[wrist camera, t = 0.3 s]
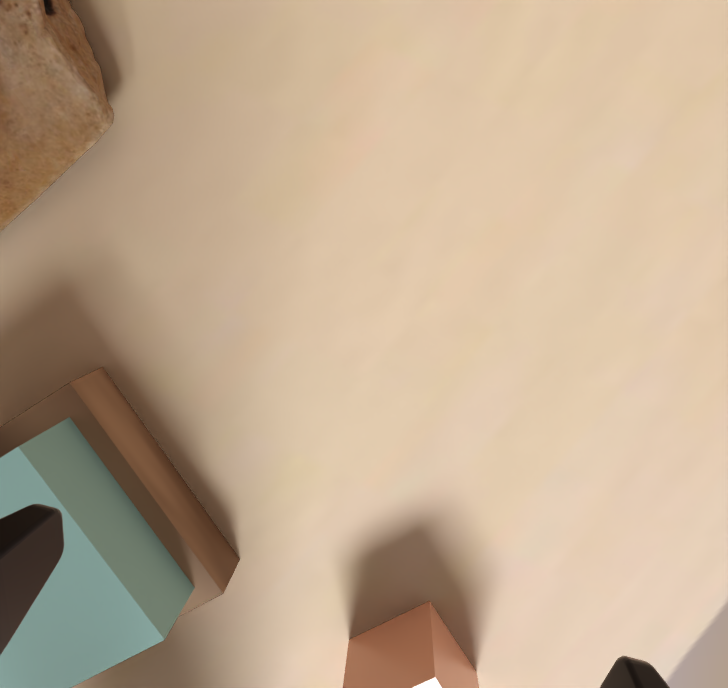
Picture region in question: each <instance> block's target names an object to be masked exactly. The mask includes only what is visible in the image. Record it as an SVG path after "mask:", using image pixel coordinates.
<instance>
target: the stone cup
mask: <svg viewBox="0 0 728 688" xmlns="http://www.w3.org/2000/svg"><path fill="white" fill-rule="evenodd" d="M113 119H114V113H113V109H112V107H111V105H109V104H108V101H107V98H106V94H105V90H104V84H103V79H102V74H101V69H100V66H99V65H98V64H97V62H96V61H95V59H94V55H93V51H92V48H91V47H90V45H89V43H88V41H87V39H86V37H85V31H84V27H83V25H82V23H81V21H80V18H79V17H78V15H77V14H76V13H75V12H74V11H73V9H72V8H71V5H70V3H69V0H0V232H1V231H2V230H3V229H4V228H5V227H6V226H7V225H8V224H9V223H10V222H11V221H12V220H14V219H15V218H16V217H17V216H18V215H19V214H20V213H21V212H22V211H24V210H25V209H26V208H27V207H28V206H29V205H30V204H31V203H33V202H34V201H35V200H36V199H37V198H38V197H39V196H40V195H41V194H42V193H43V192H44V191H45V190H46V189H47V188H48V187H49V186H51V185H52V184H53V183H54V182H55V181H56V180H57V179H58V178H59V177H60V176H61V175H62V174H63V173H64V172H65V171H66V170H67V169H68V168H69V167H70V166H71V165H72V164H74V163H75V162H76V161H77V160H78V159H79V158H80V157H81V156H82V155H83V154H84V153H85V152H86V151H88V150H89V149H90V148H91V147H92V146H93V145H94V144H95V143H96V142H97V141H98V140H99V139H100V138H101V136H102V135H103V134H104V133H105V132H106V130H107V129H108V128H109V127H110V126H111V124H112V123H113Z"/></svg>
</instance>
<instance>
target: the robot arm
mask: <svg viewBox="0 0 728 688" xmlns="http://www.w3.org/2000/svg"><path fill="white" fill-rule="evenodd" d="M63 550H64V533H63V519H62V513H61V511H60V510H59V509H57V508H54V507H50V506H46V505H42V504H32V505H29V506H27V507H25V508H22V509H20V510H18V511H16V512H14V513H12V514H9V515H7V516H5V517H3V518H1V519H0V655H1V654H2V652H3V651H4V649H5V648H6V646H7V645H8V643H9V642H10V640H11V638H12V637H13V635H14V634H15V632H16V630H17V629H18V627H19V626H20V624H21V622H22V621H23V619H24V617H25V616H26V614H27V613H28V611H29V609H30V608H31V606H32V604H33V603H34V601H35V600H36V598H37V596H38V595H39V593H40V591H41V590H42V588H43V587H44V585H45V583H46V582H47V580H48V578H49V577H50V575H51V574H52V572H53V570H54V569H55V567H56V566H57V564H58V562H59V560H60V558H61V556H62V554H63ZM600 688H670V687H669V686H668V685H667V683H666V682H665V681H664V680H663V678H662V677H661V676H660V675H659V673H658V672H657V671H656V670H655V668H654V667H653V666H652V665H650V664H649V663H648V662H645V661H642V660H639V659H635V658H631V657H627V656H622V657H620V658H618V659H617V660H616V662H615V664H614V665H613V667H612V668H611V670H610V672H609V673H608V675H607V677H606V678H605V680H604V681H603V683H602V685H601V687H600Z"/></svg>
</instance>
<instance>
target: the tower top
mask: <svg viewBox="0 0 728 688" xmlns="http://www.w3.org/2000/svg"><path fill="white" fill-rule="evenodd" d="M32 504H42V505H46V506H50V507H54V508H57V509H59V510H60V511H61V513H62V519H63V533H64V550H63V554H62V556H61V558H60V560H59V562H58V564H57V566H56V567H55V569H54V570H53V572H52V574H51V575H50V577H49V578H48V580H47V582H46V583H45V585H44V587H43V588H42V590H41V591H40V593H39V595H38V596H37V598H36V600H35V601H34V603H33V604H32V606H31V608H30V609H29V611H28V613H27V614H26V616H25V617H24V619H23V621H22V622H21V624H20V626H19V627H18V629H17V630H16V632H15V634H14V635H13V637H12V638H11V640H10V642H9V643H8V645H7V646H6V648H5V649H4V651H3V652H2V654H1V655H0V688H71V687H73V686H75V685H77V684H79V683H81V682H83V681H85V680H87V679H89V678H91V677H93V676H95V675H97V674H99V673H101V672H103V671H105V670H107V669H109V668H110V667H112V666H114V665H116V664H118V663H120V662H122V661H124V660H126V659H128V658H130V657H132V656H134V655H136V654H138V653H140V652H142V651H144V650H146V649H148V648H150V647H152V646H154V645H156V644H158V643H160V642H161V641H163V640H165V638H166V637H167V635H168V633H169V631H170V630H171V628H172V626H173V625H174V623H175V621H176V619H177V618H178V616H179V614H180V612H181V611H182V609H183V607H184V605H185V604H186V602H187V600H188V599H189V597H190V595H191V593H192V592H193V590H194V588H195V587H194V586H193V585H192V583H191V582H190V581H189V579H188V578H187V576H186V575H185V574H184V572H183V571H182V570H181V568H180V567H179V566H178V564H177V563H176V561H175V560H174V559H173V557H172V556H171V555H170V553H169V552H168V551H167V549H166V548H165V546H164V545H163V544H162V542H161V541H160V540H159V538H158V537H157V536H156V534H155V533H154V531H153V530H152V529H151V527H150V526H149V525H148V523H147V522H146V521H145V519H144V518H143V516H142V515H141V514H140V512H139V511H138V510H137V508H136V507H135V506H134V504H133V503H132V501H131V500H130V499H129V497H128V496H127V495H126V493H125V492H124V491H123V489H122V488H121V486H120V485H119V484H118V482H117V481H116V480H115V478H114V477H113V476H112V474H111V473H110V471H109V470H108V469H107V467H106V466H105V465H104V463H103V462H102V461H101V459H100V458H99V456H98V455H97V454H96V452H95V451H94V450H93V448H92V447H91V446H90V444H89V443H88V441H87V440H86V439H85V437H84V436H83V435H82V433H81V432H80V431H79V429H78V428H77V426H76V425H75V424H74V422H73V421H72V420H71V418H70V417H69V418H67V419H65V420H64V421H62V422H60V423H58V424H57V425H55V426H53V427H51V428H50V429H48V430H46V431H44V432H43V433H41V434H39V435H38V436H36V437H34V438H32V439H31V440H29V441H27V442H25V443H24V444H22V445H20V446H18V447H17V448H15V449H14V450H12V451H10V452H9V453H7V454H6V455H4V456H2V457H1V458H0V519H1V518H3V517H5V516H7V515H9V514H12V513H14V512H16V511H18V510H20V509H22V508H25V507H27V506H29V505H32Z"/></svg>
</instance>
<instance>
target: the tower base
mask: <svg viewBox="0 0 728 688" xmlns="http://www.w3.org/2000/svg"><path fill="white" fill-rule="evenodd" d="M69 417H70V418H71V420H72V421H73V422H74V424H75V425H76V426H77V428H78V429H79V431H80V432H81V433H82V435H83V436H84V437H85V439H86V440H87V441H88V443H89V444H90V446H91V447H92V448H93V450H94V451H95V452H96V454H97V455H98V456H99V458H100V459H101V461H102V462H103V463H104V465H105V466H106V467H107V469H108V470H109V471H110V473H111V474H112V476H113V477H114V478H115V480H116V481H117V482H118V484H119V485H120V486H121V488H122V489H123V491H124V492H125V493H126V495H127V496H128V497H129V499H130V500H131V501H132V503H133V504H134V506H135V507H136V508H137V510H138V511H139V512H140V514H141V515H142V516H143V518H144V519H145V521H146V522H147V523H148V525H149V526H150V527H151V529H152V530H153V531H154V533H155V534H156V536H157V537H158V538H159V540H160V541H161V542H162V544H163V545H164V546H165V548H166V549H167V551H168V552H169V553H170V555H171V556H172V557H173V559H174V560H175V561H176V563H177V564H178V566H179V567H180V568H181V570H182V571H183V572H184V574H185V575H186V576H187V578H188V579H189V581H190V582H191V583H192V585H193V586H194V587H195V588H194V590H193V592H192V593H191V595H190V597H189V599H188V600H187V602H186V604H185V605H184V607H183V609H182V611H181V612H180V614H179V616H181V615H183V614H185V613H187V612H189V611H191V610H193V609H195V608H197V607H198V606H200V605H202V604H204V603H206V602H208V601H210V600H212V599H214V598H216V597H218V596H220V595H222V594H223V593H224V591H225V589H226V587H227V585H228V583H229V581H230V579H231V577H232V575H233V573H234V571H235V568H236V566H237V564H238V562H239V560H240V559H239V557H238V556H237V555H236V553H235V552H234V550H233V549H232V548H231V546H230V545H229V543H228V542H227V541H226V539H225V538H224V536H223V535H222V534H221V532H220V531H219V529H218V528H217V527H216V525H215V524H214V522H213V521H212V520H211V518H210V517H209V515H208V514H207V513H206V511H205V510H204V508H203V507H202V506H201V504H200V503H199V501H198V500H197V499H196V497H195V496H194V494H193V493H192V492H191V490H190V489H189V487H188V486H187V485H186V483H185V482H184V480H183V479H182V478H181V476H180V475H179V473H178V472H177V471H176V469H175V468H174V466H173V465H172V464H171V462H170V461H169V459H168V458H167V457H166V455H165V454H164V452H163V451H162V449H161V448H160V447H159V445H158V444H157V442H156V441H155V440H154V438H153V437H152V435H151V434H150V433H149V431H148V430H147V428H146V427H145V426H144V424H143V423H142V421H141V420H140V419H139V417H138V416H137V414H136V413H135V412H134V410H133V409H132V407H131V406H130V405H129V403H128V402H127V400H126V399H125V398H124V396H123V395H122V393H121V392H120V391H119V389H118V388H117V386H116V385H115V384H114V382H113V381H112V379H111V378H110V377H109V375H108V374H107V372H106V371H105V370H104V368H103V367H102V368H100V369H97V370H95V371H93V372H91V373H89V374H87V375H85V376H83V377H80V378H78V379H76V380H74V381H72V382H70V383H68V384H67V385H65V386H64V387H62V388H61V389H59V390H57V391H56V392H54V393H53V394H51V395H50V396H48V397H47V398H45V399H43V400H42V401H40V402H39V403H37V404H36V405H34V406H33V407H31V408H29V409H28V410H26V411H25V412H23V413H22V414H20V415H19V416H17V417H15V418H14V419H12V420H11V421H9V422H8V423H6V424H5V425H3V426H1V427H0V458H1V457H2V456H4V455H6V454H7V453H9V452H10V451H12V450H14V449H15V448H17V447H18V446H20V445H22V444H24V443H25V442H27V441H29V440H31V439H32V438H34V437H36V436H38V435H39V434H41V433H43V432H44V431H46V430H48V429H50V428H51V427H53V426H55V425H57V424H58V423H60V422H62V421H64V420H65V419H67V418H69ZM179 616H178V617H179Z"/></svg>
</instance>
